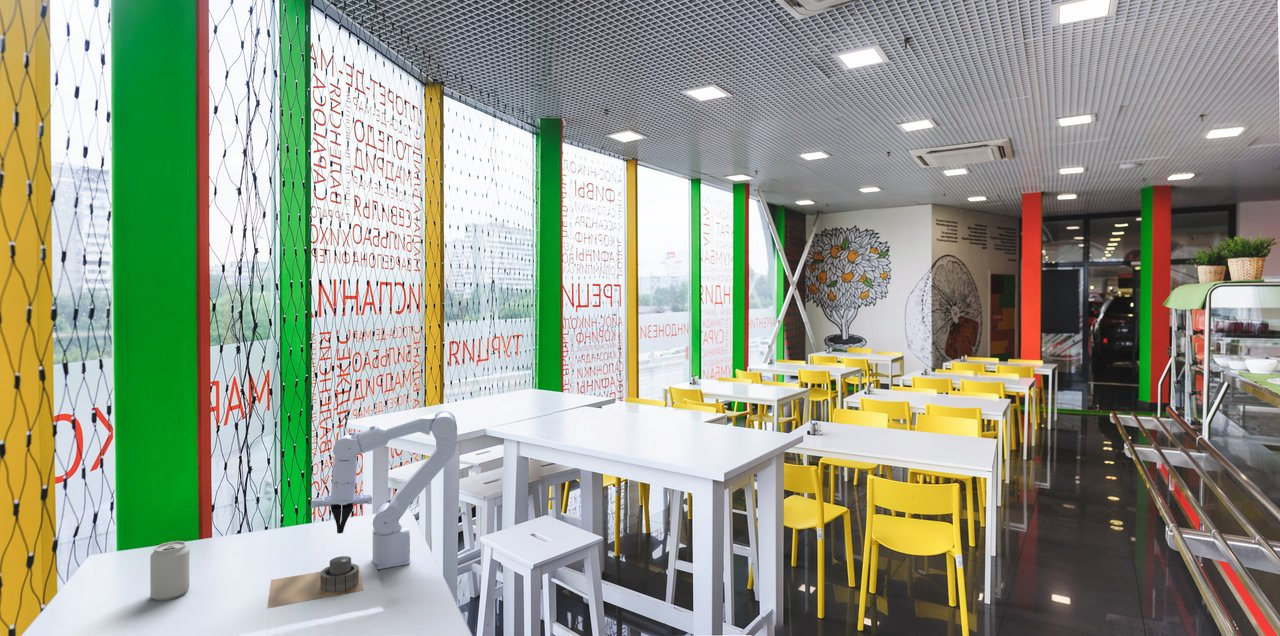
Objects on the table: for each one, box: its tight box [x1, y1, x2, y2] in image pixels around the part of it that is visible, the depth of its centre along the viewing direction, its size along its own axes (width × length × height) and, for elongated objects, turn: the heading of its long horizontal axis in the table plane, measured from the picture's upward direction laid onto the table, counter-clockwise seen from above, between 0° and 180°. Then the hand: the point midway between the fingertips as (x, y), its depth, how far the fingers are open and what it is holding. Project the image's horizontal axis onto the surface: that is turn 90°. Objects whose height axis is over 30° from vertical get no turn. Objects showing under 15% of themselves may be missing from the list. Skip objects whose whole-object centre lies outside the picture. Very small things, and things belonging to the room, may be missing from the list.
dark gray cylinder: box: [329, 555, 352, 576], centre depth 153 cm, size 5×5×6 cm
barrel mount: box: [267, 562, 364, 609], centre depth 152 cm, size 20×16×4 cm
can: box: [149, 540, 190, 601], centre depth 148 cm, size 8×8×12 cm
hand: (339, 532), depth 164 cm, fingers closed
